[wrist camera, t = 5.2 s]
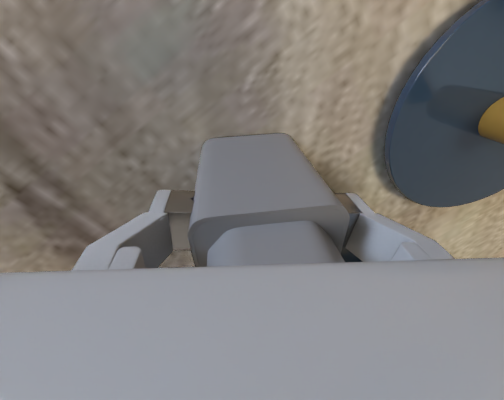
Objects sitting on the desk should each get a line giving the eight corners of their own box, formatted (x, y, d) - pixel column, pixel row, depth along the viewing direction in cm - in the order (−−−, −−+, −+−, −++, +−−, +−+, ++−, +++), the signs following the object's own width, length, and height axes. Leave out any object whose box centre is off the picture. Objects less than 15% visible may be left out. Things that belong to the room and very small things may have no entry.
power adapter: (199, 139, 13) (136, 449, 3) (294, 132, 13) (508, 385, 4) (207, 187, 15) (184, 482, 5) (291, 179, 15) (427, 436, 5)
